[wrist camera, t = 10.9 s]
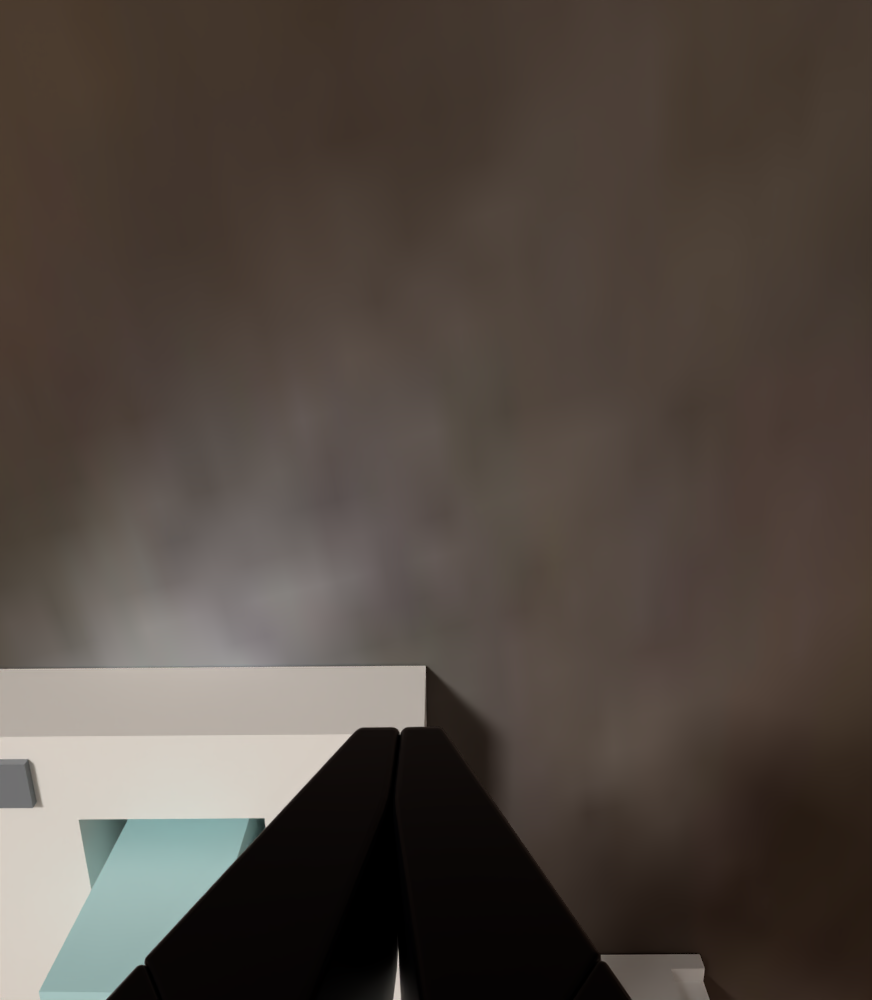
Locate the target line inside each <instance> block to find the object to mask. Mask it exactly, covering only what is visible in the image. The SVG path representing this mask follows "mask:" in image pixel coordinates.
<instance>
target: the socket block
mask: <svg viewBox="0 0 872 1000" xmlns="http://www.w3.org/2000/svg"><path fill="white" fill-rule="evenodd" d="M362 727H394V728H396V729H398V731H399V732H400V733H401V731H402V730H403V729H404V728H406V727H427V712H426V666H329V667H197V668H66V669H0V1000H40V995H39V990H40V988H41V987H42V985H43V983H44V981H45V979H46V977H47V975H48V973H49V971H50V969H51V967H52V965H53V963H54V961H55V959H56V958H57V956H58V954H59V952H60V950H61V948H62V946H63V944H64V942H65V940H66V938H67V936H68V934H69V932H70V930H71V928H72V927H73V925H74V923H75V921H76V919H77V917H78V915H79V913H80V911H81V909H82V907H83V905H84V903H85V901H86V899H87V898H88V896H89V894H90V892H91V890H92V888H93V886H94V884H95V882H96V880H97V878H98V876H99V874H100V872H101V870H102V869H103V867H104V865H105V863H106V861H107V859H108V857H109V855H110V853H111V851H112V849H113V847H114V845H115V843H116V841H117V840H118V838H119V836H120V834H121V832H122V830H123V828H124V826H125V824H126V822H127V820H128V819H225V818H265V828H266V827H267V826H268V825H269V824H270V823H271V821H272V820H273V819H274V818H275V817H276V816H277V815H278V814H279V813H280V812H281V811H282V810H283V809H284V807H285V806H286V805H287V804H288V803H289V802H290V801H291V800H292V799H293V798H294V797H295V796H296V795H297V793H298V792H299V791H300V790H301V789H302V788H303V787H304V786H305V785H306V784H307V783H308V782H309V780H310V779H311V778H312V777H313V776H314V775H315V774H316V773H317V772H318V771H319V770H320V769H321V768H322V766H323V765H324V764H325V763H326V762H327V761H328V760H329V759H330V758H331V757H332V756H333V755H334V753H335V752H336V751H337V750H338V749H339V748H340V747H341V746H342V745H343V744H344V743H345V742H346V741H347V739H348V738H349V737H350V736H351V735H352V734H353V733H354V732H355V731H356V730H357V729H359V728H362ZM393 1000H401V992H400V974H399V952H398V962H397V974H396V982H395V990H394V998H393Z"/></svg>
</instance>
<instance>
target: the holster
mask: <svg viewBox="0 0 872 1000" xmlns="http://www.w3.org/2000/svg"><path fill="white" fill-rule="evenodd" d="M601 961H604V962H606V963H607V964H608V966H609V967H610V968H611V970H612V971H613V973H614V974H615V976H616V977H617V979H618V980H619V981H620V983H621V984H622V986H623V987H624V989H625V990H626V992H627V993H628V994H629V996H630V997H631V999H632V1000H710V999H709V996H708V993H707V991H706V988H705V985H704V982H703V980H704V972H705V967H704V965H703V962H702V959H701V956H700V954H646V955H601Z"/></svg>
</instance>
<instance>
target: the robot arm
mask: <svg viewBox="0 0 872 1000" xmlns="http://www.w3.org/2000/svg"><path fill="white" fill-rule="evenodd" d="M398 952H399V974H400V992H401V1000H632V999H631V997H630V996H629V994H628V993H627V992H626V990H625V989H624V987H623V986H622V984H621V983H620V981H619V980H618V979H617V977H616V976H615V974H614V973H613V971H612V970H611V968H610V967H609V966H608V964H607V963H606V962H604V961H601V955H600V953H599V952H598V950H597V949H596V948H595V946H594V945H593V943H592V942H591V940H590V939H589V938H588V936H587V935H586V933H585V932H584V930H583V929H582V927H581V926H580V925H579V923H578V922H577V920H576V919H575V917H574V916H573V915H572V913H571V912H570V910H569V909H568V907H567V906H566V904H565V903H564V902H563V900H562V899H561V897H560V896H559V894H558V893H557V892H556V890H555V889H554V887H553V886H552V884H551V883H550V881H549V880H548V879H547V877H546V876H545V874H544V873H543V871H542V870H541V868H540V867H539V866H538V864H537V863H536V861H535V860H534V858H533V857H532V856H531V854H530V853H529V851H528V850H527V848H526V847H525V845H524V844H523V843H522V841H521V840H520V838H519V837H518V835H517V834H516V833H515V831H514V830H513V828H512V827H511V825H510V824H509V822H508V821H507V820H506V818H505V817H504V815H503V814H502V812H501V811H500V810H499V808H498V807H497V805H496V804H495V802H494V801H493V799H492V798H491V797H490V795H489V794H488V792H487V791H486V789H485V788H484V787H483V785H482V784H481V782H480V781H479V779H478V778H477V776H476V775H475V774H474V772H473V771H472V769H471V768H470V766H469V765H468V764H467V762H466V761H465V759H464V758H463V756H462V755H461V753H460V752H459V751H458V749H457V748H456V746H455V745H454V743H453V742H452V741H451V739H450V738H449V736H448V735H447V733H446V732H445V731H444V730H443V729H442V728H441V727H437V726H435V727H406V728H404V729H403V730H402V731H401V733H400V732H399V731H398V729H396V728H394V727H362V728H359V729H357V730H356V731H355V732H354V733H353V734H352V735H351V736H350V737H349V738H348V739H347V741H346V742H345V743H344V744H343V745H342V746H341V747H340V748H339V749H338V750H337V751H336V752H335V753H334V755H333V756H332V757H331V758H330V759H329V760H328V761H327V762H326V763H325V764H324V765H323V766H322V768H321V769H320V770H319V771H318V772H317V773H316V774H315V775H314V776H313V777H312V778H311V779H310V780H309V782H308V783H307V784H306V785H305V786H304V787H303V788H302V789H301V790H300V791H299V792H298V793H297V795H296V796H295V797H294V798H293V799H292V800H291V801H290V802H289V803H288V804H287V805H286V806H285V807H284V809H283V810H282V811H281V812H280V813H279V814H278V815H277V816H276V817H275V818H274V819H273V820H272V821H271V823H270V824H269V825H268V826H267V827H266V828H265V829H264V830H263V831H262V832H261V833H260V834H259V836H258V837H257V838H256V839H255V840H254V841H253V842H252V843H251V844H250V845H249V846H248V847H247V848H246V850H245V851H244V852H243V853H242V854H241V855H240V856H239V857H238V858H237V859H236V860H235V861H234V863H233V864H232V865H231V866H230V867H229V868H228V869H227V870H226V871H225V872H224V873H223V874H222V875H221V877H220V878H219V879H218V880H217V881H216V882H215V883H214V884H213V885H212V886H211V887H210V888H209V889H208V891H207V892H206V893H205V894H204V895H203V896H202V897H201V898H200V899H199V900H198V901H197V902H196V904H195V905H194V906H193V907H192V908H191V909H190V910H189V911H188V912H187V913H186V914H185V915H184V916H183V918H182V919H181V920H180V921H179V922H178V923H177V924H176V925H175V926H174V927H173V928H172V929H171V930H170V932H169V933H168V934H167V935H166V936H165V937H164V938H163V939H162V940H161V941H160V942H159V943H158V945H157V946H156V947H155V948H154V949H153V950H152V951H151V952H150V953H149V954H148V955H147V956H146V958H145V962H144V963H145V965H138V966H137V967H136V968H135V969H134V970H133V971H132V972H131V973H130V974H129V975H128V976H127V977H126V978H125V980H124V981H123V982H122V983H121V984H120V985H119V986H118V987H117V988H116V989H115V990H114V991H113V993H112V994H111V995H110V996H109V997H108V998H107V999H106V1000H393V998H394V990H395V982H396V974H397V962H398Z"/></svg>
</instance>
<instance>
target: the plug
mask: <svg viewBox="0 0 872 1000" xmlns="http://www.w3.org/2000/svg"><path fill="white" fill-rule="evenodd" d="M264 829H265V818H225V819H128V820H127V822H126V824H125V826H124V828H123V830H122V832H121V834H120V836H119V838H118V840H117V841H116V843H115V845H114V847H113V849H112V851H111V853H110V855H109V857H108V859H107V861H106V863H105V865H104V867H103V869H102V870H101V872H100V874H99V876H98V878H97V880H96V882H95V884H94V886H93V888H92V890H91V892H90V894H89V896H88V898H87V899H86V901H85V903H84V905H83V907H82V909H81V911H80V913H79V915H78V917H77V919H76V921H75V923H74V925H73V927H72V928H71V930H70V932H69V934H68V936H67V938H66V940H65V942H64V944H63V946H62V948H61V950H60V952H59V954H58V956H57V958H56V959H55V961H54V963H53V965H52V967H51V969H50V971H49V973H48V975H47V977H46V979H45V981H44V983H43V985H42V987H41V988H40V990H39V995H40V1000H106V999H107V998H108V997H109V996H110V995H111V994H112V993H113V991H114V990H115V989H116V988H117V987H118V986H119V985H120V984H121V983H122V982H123V981H124V980H125V978H126V977H127V976H128V975H129V974H130V973H131V972H132V971H133V970H134V969H135V968H136V967H137V966H138V965H145V963H144V962H145V958H146V956H147V955H148V954H149V953H150V952H151V951H152V950H153V949H154V948H155V947H156V946H157V945H158V943H159V942H160V941H161V940H162V939H163V938H164V937H165V936H166V935H167V934H168V933H169V932H170V930H171V929H172V928H173V927H174V926H175V925H176V924H177V923H178V922H179V921H180V920H181V919H182V918H183V916H184V915H185V914H186V913H187V912H188V911H189V910H190V909H191V908H192V907H193V906H194V905H195V904H196V902H197V901H198V900H199V899H200V898H201V897H202V896H203V895H204V894H205V893H206V892H207V891H208V889H209V888H210V887H211V886H212V885H213V884H214V883H215V882H216V881H217V880H218V879H219V878H220V877H221V875H222V874H223V873H224V872H225V871H226V870H227V869H228V868H229V867H230V866H231V865H232V864H233V863H234V861H235V860H236V859H237V858H238V857H239V856H240V855H241V854H242V853H243V852H244V851H245V850H246V848H247V847H248V846H249V845H250V844H251V843H252V842H253V841H254V840H255V839H256V838H257V837H258V836H259V834H260V833H261V832H262V831H263V830H264Z"/></svg>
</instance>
